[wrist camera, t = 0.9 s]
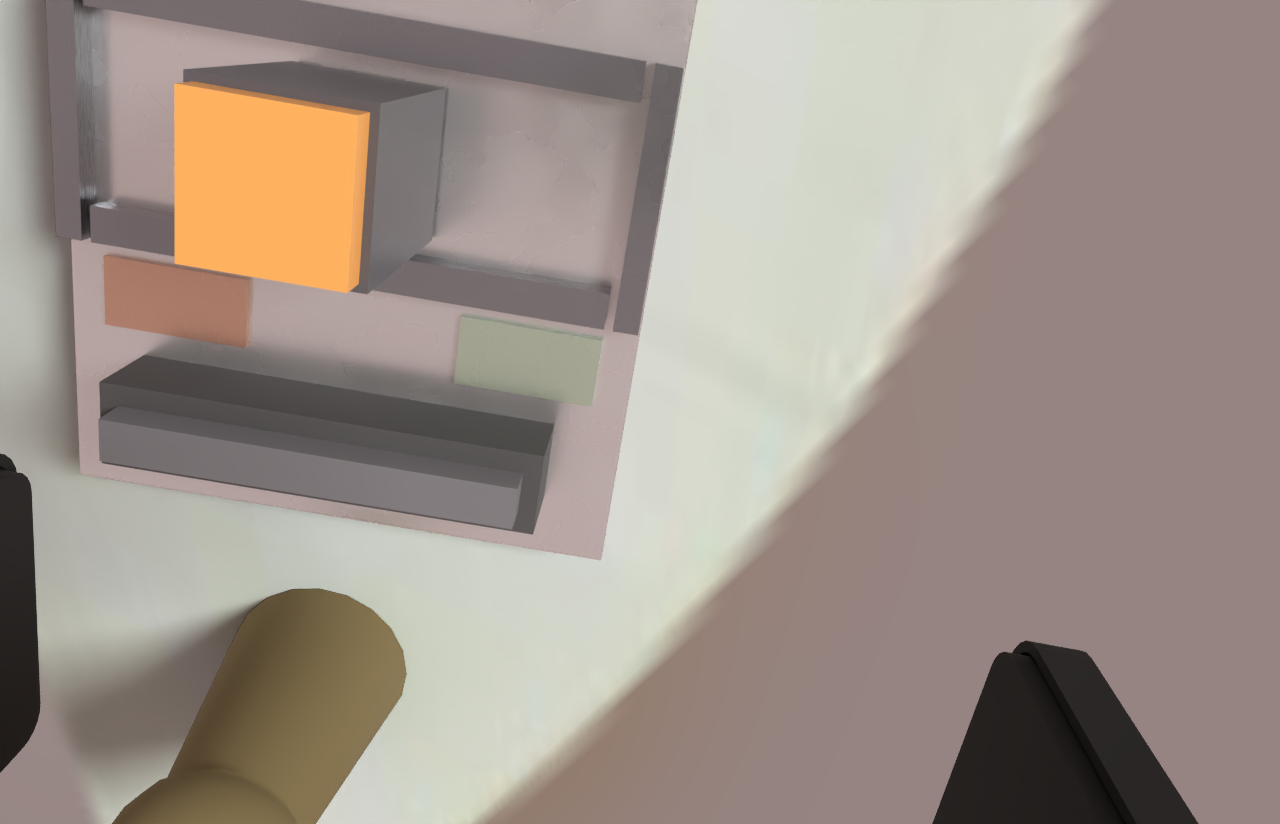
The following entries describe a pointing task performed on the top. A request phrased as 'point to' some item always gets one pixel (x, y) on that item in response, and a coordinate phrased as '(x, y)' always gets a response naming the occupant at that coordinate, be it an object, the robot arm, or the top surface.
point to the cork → (282, 716)
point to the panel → (436, 275)
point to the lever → (304, 172)
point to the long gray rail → (325, 443)
